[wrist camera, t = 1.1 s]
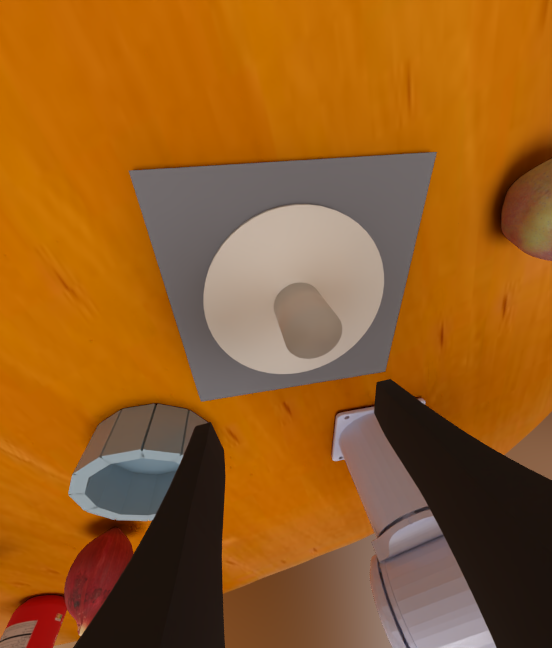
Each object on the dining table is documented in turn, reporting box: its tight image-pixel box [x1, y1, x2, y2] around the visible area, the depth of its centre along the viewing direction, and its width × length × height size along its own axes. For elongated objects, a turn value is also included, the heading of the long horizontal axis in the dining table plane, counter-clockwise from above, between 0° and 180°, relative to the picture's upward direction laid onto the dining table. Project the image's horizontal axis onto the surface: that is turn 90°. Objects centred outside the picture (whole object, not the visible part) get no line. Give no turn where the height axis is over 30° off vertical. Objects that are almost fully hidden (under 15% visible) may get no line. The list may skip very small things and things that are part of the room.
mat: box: [129, 152, 437, 401], centre depth 17 cm, size 16×16×1 cm
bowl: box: [68, 404, 208, 521], centre depth 21 cm, size 10×10×4 cm
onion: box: [64, 528, 133, 636], centre depth 26 cm, size 6×6×8 cm
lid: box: [203, 204, 384, 374], centre depth 15 cm, size 12×12×4 cm
